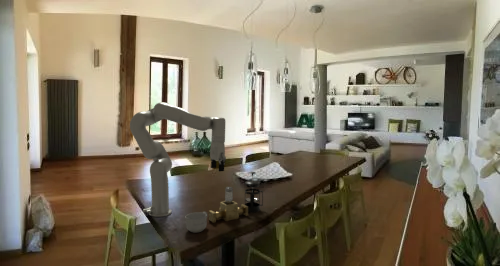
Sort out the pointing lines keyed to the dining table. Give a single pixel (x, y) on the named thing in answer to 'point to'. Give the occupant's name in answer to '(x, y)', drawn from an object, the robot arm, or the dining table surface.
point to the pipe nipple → (228, 195)
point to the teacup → (196, 221)
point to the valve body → (228, 212)
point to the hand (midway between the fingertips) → (217, 169)
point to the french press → (252, 205)
